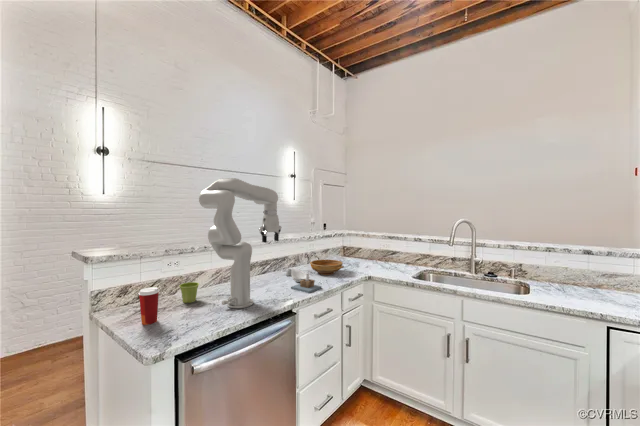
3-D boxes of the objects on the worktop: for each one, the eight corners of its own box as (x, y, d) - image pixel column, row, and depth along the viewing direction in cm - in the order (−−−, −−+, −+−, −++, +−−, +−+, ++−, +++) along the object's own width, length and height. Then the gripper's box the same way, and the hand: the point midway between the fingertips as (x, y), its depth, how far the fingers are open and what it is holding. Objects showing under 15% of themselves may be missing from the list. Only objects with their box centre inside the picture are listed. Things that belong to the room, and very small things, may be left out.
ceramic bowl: (300, 273, 207) (300, 262, 207) (321, 267, 226) (321, 257, 226) (332, 279, 188) (332, 268, 188) (352, 273, 207) (352, 262, 207)
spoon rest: (313, 282, 183) (313, 271, 183) (297, 285, 177) (297, 273, 176) (295, 274, 203) (295, 265, 203) (280, 277, 196) (280, 267, 196)
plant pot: (203, 300, 147) (203, 283, 147) (186, 305, 139) (186, 288, 139) (192, 297, 152) (191, 281, 152) (175, 302, 144) (175, 285, 143)
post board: (309, 293, 159) (309, 277, 159) (290, 288, 168) (290, 273, 167) (321, 288, 169) (321, 273, 169) (303, 284, 177) (303, 269, 177)
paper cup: (163, 318, 123) (163, 286, 123) (153, 325, 115) (153, 292, 115) (145, 318, 123) (144, 286, 122) (134, 326, 115) (133, 292, 115)
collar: (308, 288, 165) (308, 282, 165) (300, 286, 168) (300, 280, 168) (314, 285, 170) (314, 280, 169) (306, 284, 173) (306, 278, 173)
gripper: (263, 213, 158) (263, 243, 158) (285, 212, 172) (285, 240, 172) (254, 213, 162) (255, 242, 163) (276, 212, 176) (276, 239, 176)
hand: (270, 241), depth 167 cm, fingers open, 9 cm apart
